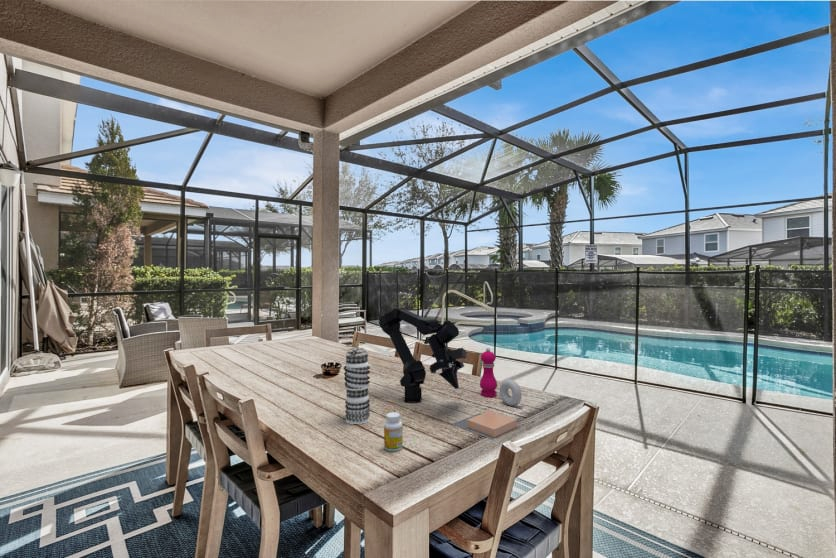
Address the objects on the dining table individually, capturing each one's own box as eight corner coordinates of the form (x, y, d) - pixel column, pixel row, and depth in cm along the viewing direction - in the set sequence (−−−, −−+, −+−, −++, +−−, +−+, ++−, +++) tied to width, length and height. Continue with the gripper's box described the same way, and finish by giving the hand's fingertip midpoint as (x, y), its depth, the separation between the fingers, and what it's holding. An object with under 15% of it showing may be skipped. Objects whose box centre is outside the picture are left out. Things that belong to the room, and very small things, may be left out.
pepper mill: (497, 398, 155) (496, 349, 155) (479, 397, 157) (478, 349, 157) (497, 393, 162) (496, 346, 162) (480, 392, 164) (479, 345, 164)
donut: (523, 408, 143) (523, 381, 143) (517, 410, 141) (517, 383, 141) (503, 401, 152) (503, 376, 152) (497, 402, 150) (497, 377, 150)
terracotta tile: (466, 419, 125) (494, 429, 116) (489, 410, 132) (516, 419, 124) (467, 427, 125) (494, 437, 116) (490, 418, 132) (516, 427, 124)
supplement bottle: (384, 444, 114) (383, 411, 114) (402, 443, 114) (401, 411, 114) (384, 452, 109) (383, 418, 109) (403, 451, 109) (402, 417, 109)
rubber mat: (451, 425, 128) (451, 423, 128) (480, 414, 138) (480, 413, 138) (492, 441, 115) (492, 439, 115) (520, 427, 125) (520, 426, 125)
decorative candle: (349, 427, 127) (348, 352, 127) (341, 418, 135) (340, 348, 135) (374, 421, 131) (373, 349, 131) (365, 413, 140) (364, 345, 140)
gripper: (446, 337, 132) (466, 378, 126) (466, 340, 148) (484, 378, 142) (421, 352, 136) (439, 393, 129) (443, 354, 152) (460, 391, 145)
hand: (457, 388), depth 136 cm, fingers closed
